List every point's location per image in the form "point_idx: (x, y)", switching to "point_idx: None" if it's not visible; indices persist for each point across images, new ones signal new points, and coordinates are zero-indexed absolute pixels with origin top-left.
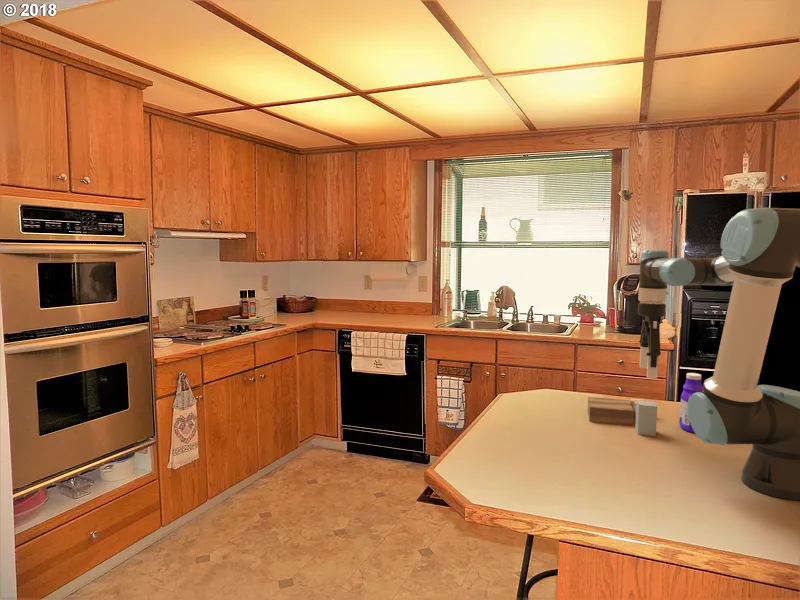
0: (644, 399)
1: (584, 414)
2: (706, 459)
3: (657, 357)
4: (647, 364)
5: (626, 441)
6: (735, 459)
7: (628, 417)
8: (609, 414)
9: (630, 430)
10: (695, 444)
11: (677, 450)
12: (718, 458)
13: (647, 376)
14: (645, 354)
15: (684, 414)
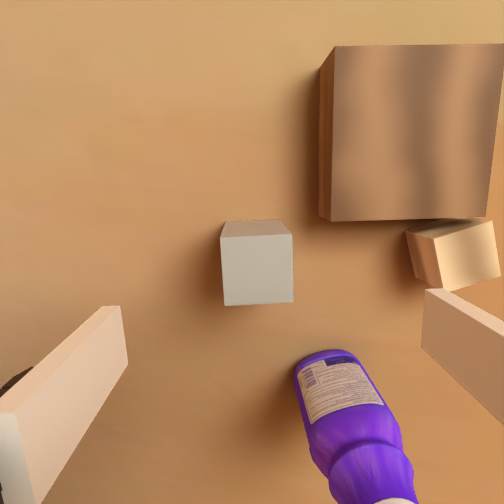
0: (499, 275)
1: None
2: None
3: (13, 488)
4: (71, 351)
5: (140, 182)
6: (108, 430)
7: (324, 202)
8: (326, 134)
9: (259, 203)
10: (190, 363)
11: None
12: None
13: (97, 311)
14: (497, 379)
15: (319, 380)
